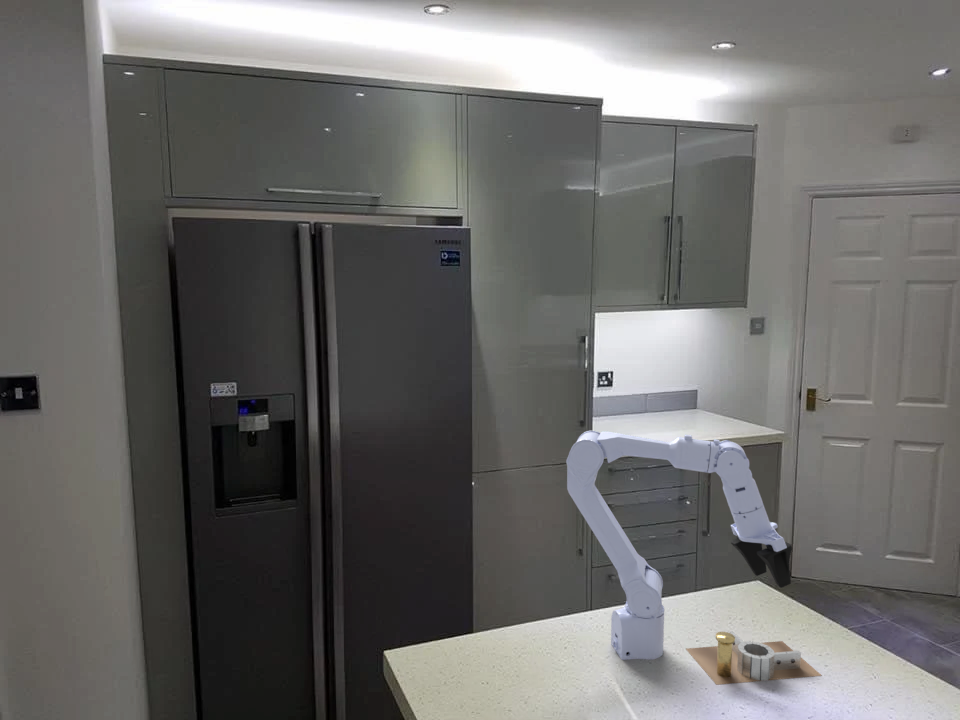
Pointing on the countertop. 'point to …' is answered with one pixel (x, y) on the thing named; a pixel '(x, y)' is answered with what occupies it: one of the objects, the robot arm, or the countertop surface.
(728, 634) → the brass cabinet knob
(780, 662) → the grey winged collar
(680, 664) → the countertop surface
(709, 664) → the walnut board
